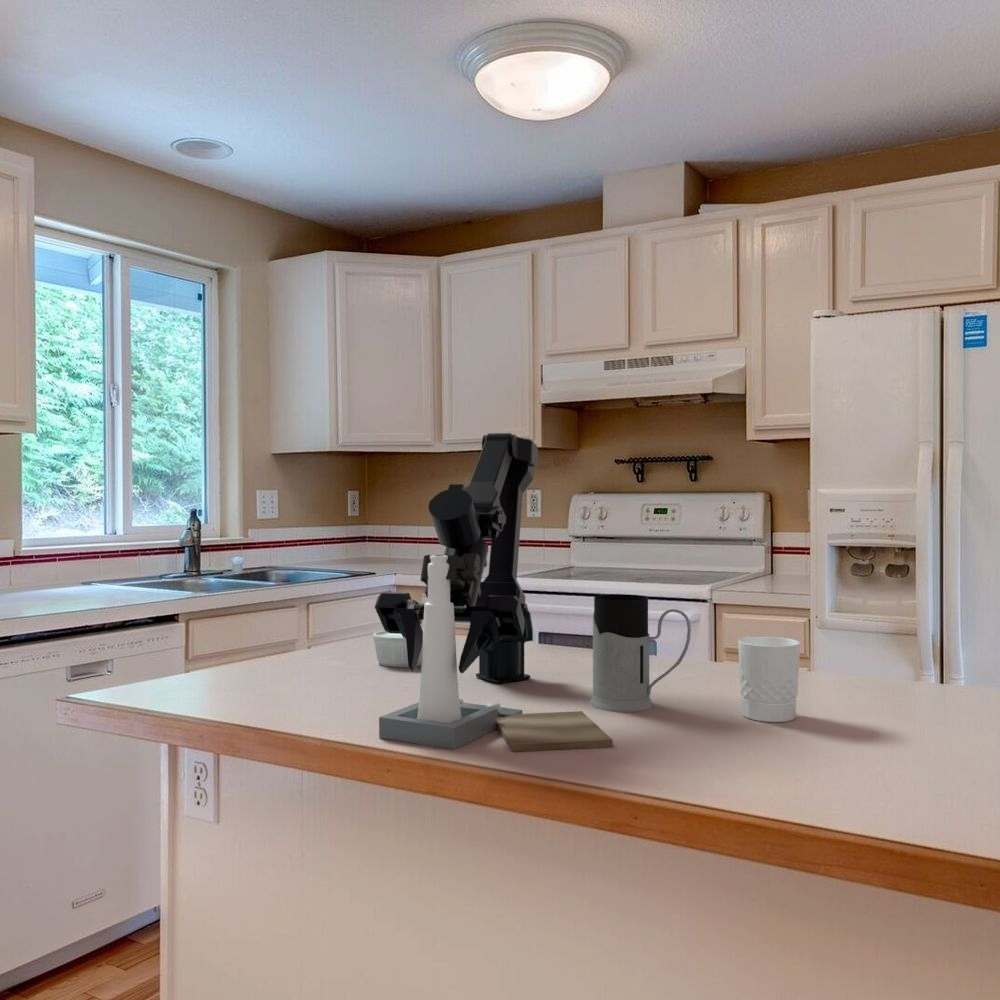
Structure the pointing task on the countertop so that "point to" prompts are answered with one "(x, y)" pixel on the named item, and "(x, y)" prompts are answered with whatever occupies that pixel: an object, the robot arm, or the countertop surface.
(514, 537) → the robot arm
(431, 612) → the cosmetic bottle
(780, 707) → the white cup
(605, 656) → the glass holder
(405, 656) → the ramekin
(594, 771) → the countertop surface
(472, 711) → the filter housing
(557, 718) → the walnut pad
